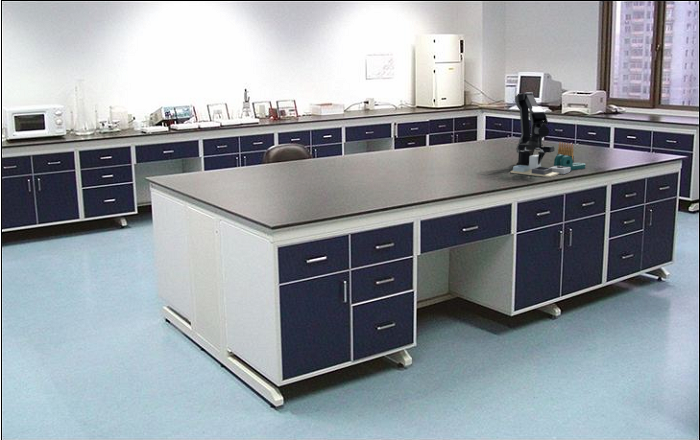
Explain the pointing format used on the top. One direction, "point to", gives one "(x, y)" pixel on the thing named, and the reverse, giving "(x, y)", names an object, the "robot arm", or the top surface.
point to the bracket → (567, 162)
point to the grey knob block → (561, 169)
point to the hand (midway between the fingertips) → (535, 163)
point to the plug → (534, 161)
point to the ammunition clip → (566, 150)
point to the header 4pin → (541, 170)
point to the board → (536, 174)
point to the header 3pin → (521, 168)
